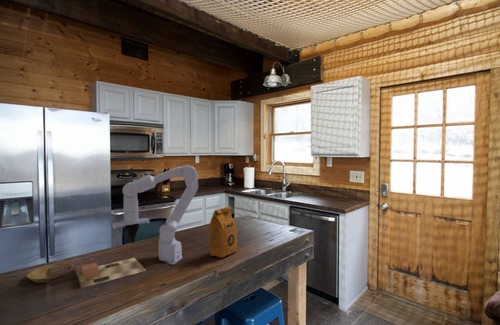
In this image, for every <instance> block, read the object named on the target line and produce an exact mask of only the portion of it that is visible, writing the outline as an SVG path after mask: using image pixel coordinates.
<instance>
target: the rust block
mask: <svg viewBox="0 0 500 325" xmlns="http://www.w3.org/2000/svg"><path fill="white" fill-rule="evenodd" d="M98 266H99V265H98V263H97V261H95V262H90V263H86V264H81V265H80V269H81V272H82V274H83V277H84V280H87V279H91V278H95V277H99V275H98Z"/></svg>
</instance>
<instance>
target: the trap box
mask: <svg viewBox="0 0 500 325" xmlns="http://www.w3.org/2000/svg"><path fill="white" fill-rule="evenodd" d="M113 264H119V265H114V266H110V267H107V266H109V265H113ZM143 272H147V270H146V268H145V267H144V266H143V265H142V264H141V263H140V262H139V261H138V260H137V259H136V258H135V257H132V258H127V259H124V260H119V261H115V262H111V263H107V264H102V265H98V275H99V277H95V278H91V279H87V280H84V277H83V274H82V272H81V265H77V266H75V273H76V276H77V279H78V283H79V285H80V289H83V288H86V287H91V286H94V285H98V284H100V283H101V284H102V283H105V282H109V281H113V280H116V279H121V278H123V277H128V276H132V275H135V274H138V273H143ZM105 277H107V278H108V279H105V280H101V281H97V282H94V280H98V279H102V278H105Z"/></svg>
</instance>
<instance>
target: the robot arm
mask: <svg viewBox="0 0 500 325" xmlns="http://www.w3.org/2000/svg"><path fill="white" fill-rule="evenodd" d="M172 178H179V179H181V178H183V180H184V183H185V185H186V188H185V190H184V191H183V193H182V195H181V196H180V198H179V200H178V201H177V203H176V205H175V207H174V208H173V211H172V212H171V214H170V216H169V217H168V218H167V219H166V220H165V223H163V224H161V226H160V227H159V230H158V231H159V239H158V259H159V261H163V262H165V263H167V264H168V265H175V264H177V263H178V262H179V261H180V260H182V259H183V256H182V254H183V253H182V252H183V251H182V242H181V241H179V240H176V237H175V236H176V231H177V229H178V225H179V223H180V221H181V219H182V218H183V216H184V214H185V213H186V211H187V209H188V207H189V206H190V204H191V202H192V200H193V199H194V197H195V196H196V193H197V191H198V189H199V179H198V178H199V174H198V172H197V170H196V167H194V166H193V165H189V164H185V165H183V166H177V167H174V168H172V169H168V170H166V171H164V172H162V173H159V174H156V175H154V176H152V175H151V174H148V175H147V174H146V175H143V177H141V178H137V179H132V181H131V182H127V183H126V184H125V185H124V186H123V188H122V194H123V220H121V221H117V222H112V223H111V224H112V229H113V230H115V229H118V228H124V230H125V231H126V234H127V237H128V240H129V243H130V244H133V243H135V239H136V236H137V233H138V231H139V229H140V225H143V224H149V223H150V217H149V218H148V217H146V218H145V217H144V218H143V217H142V218H139V199H138V193H139V194H140V193H143V192H145V191H148V190H151V189H154V188H156V185H157V184H158V183H161V182H164V181H166V180H169V179H172Z"/></svg>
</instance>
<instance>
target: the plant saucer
mask: <svg viewBox="0 0 500 325" xmlns="http://www.w3.org/2000/svg"><path fill="white" fill-rule="evenodd" d="M59 267H67V268H70V269H69V270H67V271H66V272H63V273H61V274H59V275H55V276H51V270H50V269H52V268H59ZM73 268H74V265H73V264H72V263H70V262H69V263H68V262H62V263H60V262H59V263H52V264H47V265H44V266H41V267H38V268H36V269H33V270H31V271H30V272H28V274H27V275H26V277H27V279H29V280H30V281H32V282H33V283H37V284H43V283H50V282H51V281H52V280H54V279H58V278H61V277H64V276H66V275H68V274H69V273H71V271H72V270H73Z"/></svg>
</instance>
